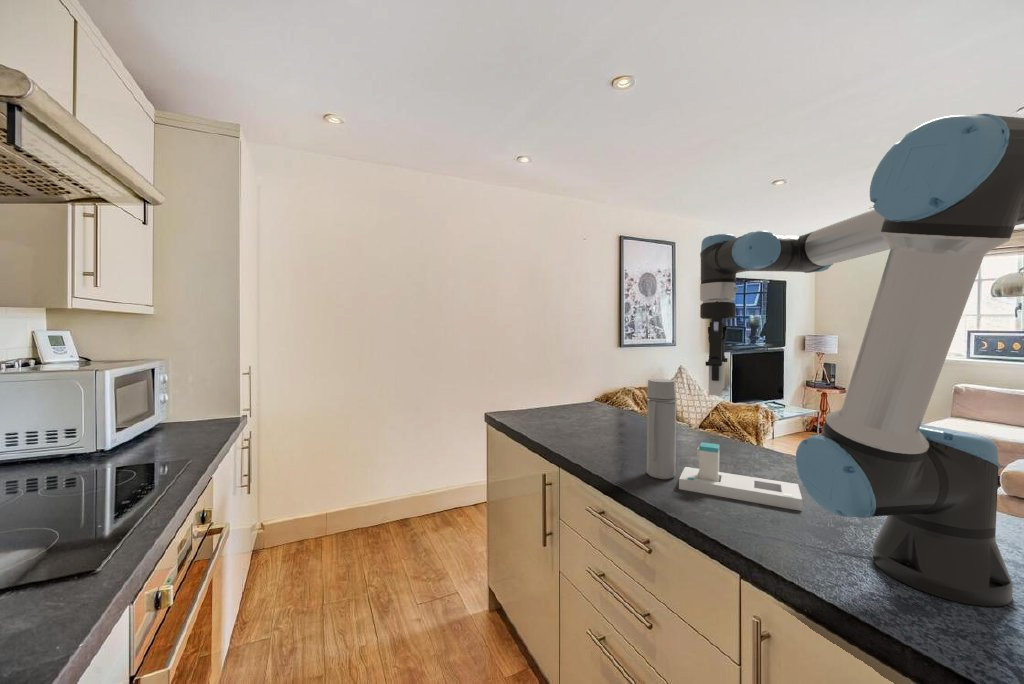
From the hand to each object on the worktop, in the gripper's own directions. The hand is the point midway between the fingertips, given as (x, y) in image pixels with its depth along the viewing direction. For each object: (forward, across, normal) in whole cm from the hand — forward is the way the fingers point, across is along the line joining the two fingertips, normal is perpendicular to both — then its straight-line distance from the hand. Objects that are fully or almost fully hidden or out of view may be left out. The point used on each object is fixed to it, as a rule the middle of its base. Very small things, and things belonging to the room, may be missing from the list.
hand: (716, 391), depth 100 cm
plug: (+23, 0, +2) cm, 23 cm away
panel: (+24, -1, -4) cm, 24 cm away
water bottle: (+24, +3, +13) cm, 27 cm away
